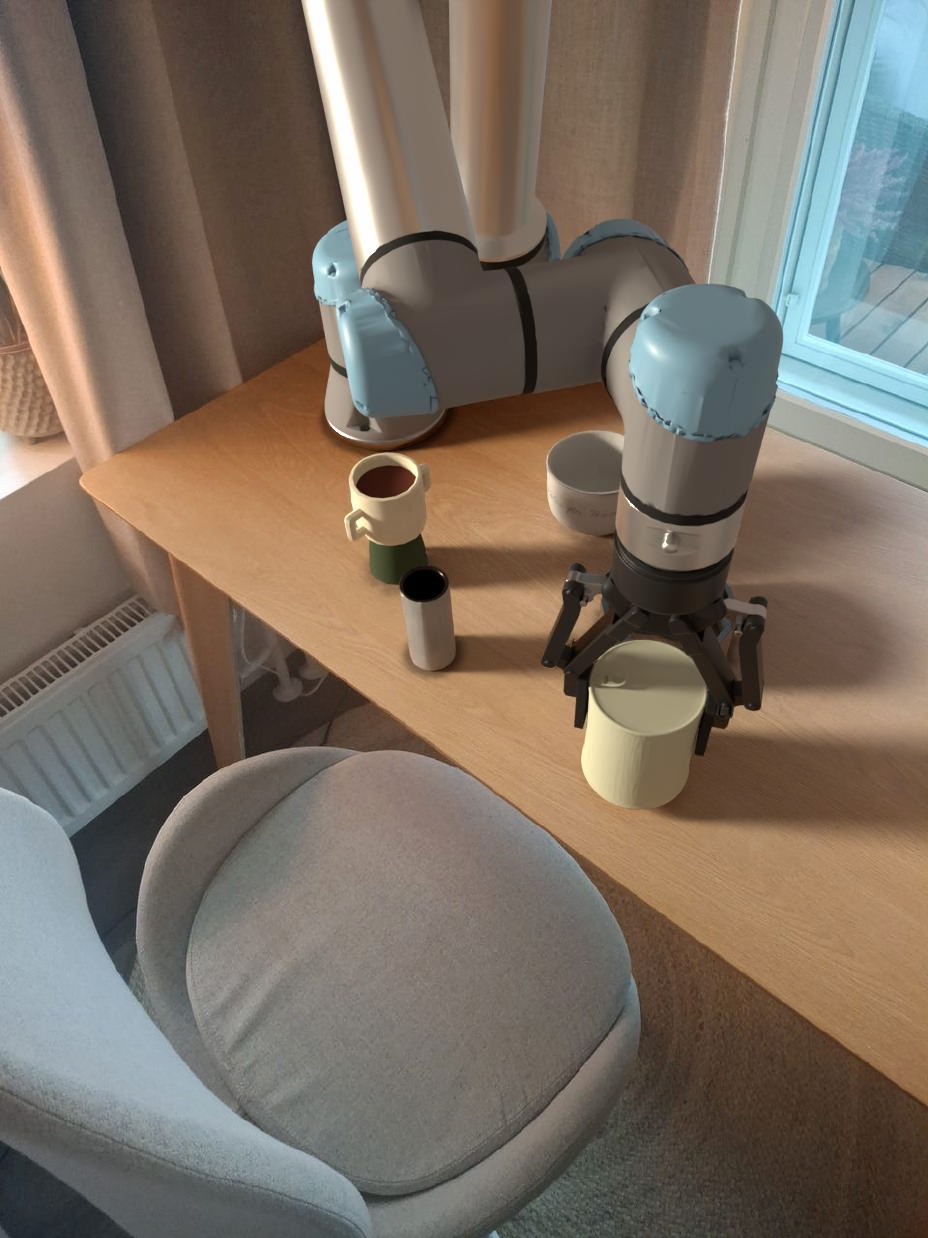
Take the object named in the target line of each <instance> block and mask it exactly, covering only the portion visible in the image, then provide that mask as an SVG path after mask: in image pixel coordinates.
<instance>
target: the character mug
mask: <svg viewBox="0 0 928 1238" xmlns="http://www.w3.org/2000/svg"><path fill="white" fill-rule="evenodd" d="M348 484H349V490H350V503H351V506H352V510H351V511H350V512H349V513H347V515H345V516H344V526H345V531H346V535H347V538H348V540H349V541H350V542H357V541H359V539H361V538H362V537H364V536H365V538H367V539H368V553H369V554H368V555H369V570H370V574H371V575H372V576H373V577H374V578H375V579H376V580H377V581H380V582H382V583H384V584H387V585H392V586H399V582H400V579H401V577H402V576H403V575H404V574H405V573H406V572H407V571H408V570H410V569H412V568H414V567H417V566H422V565H429V558H428V557H429V556H428V551H427V548H426V544H425V540H424V539H423V536H422V532H423V531H424V529H425V526H426V522H427V517H428V513H427V506H426V505H427V504H426V497H425V493H427V492H428V491H429V490H431V488H432V478H431V470H430V467H429V464H428V463H420V464H419V463H417V462H416V460H414V458H412V457H410V456H408V455H405V454H402V453H399V452H397V453H396V452H387V451H386V452H382V453H374V454H371V455H369V456H366V457H363V458H362V459H361V460H359V461H358V462H356V464H355V465H354V466H353V467H352V468H351V471H350V474H349V476H348ZM356 526H357V527H356Z"/></svg>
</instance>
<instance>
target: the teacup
mask: <svg viewBox="0 0 928 1238" xmlns="http://www.w3.org/2000/svg"><path fill="white" fill-rule="evenodd" d="M623 446H624V434H623V433H619V432H615V431H611V430H604V429H603V430H602V429H601V430H600V429H598V430H592V429H591V430H585V431H579V432H575V433H571V434H570V435H566V436H565V437H563V438H562V439H559V441H558V442H556V443H555V444H554V445H553V446H552V447H551V448H550V450H549V451H548V452H547V456H546V462H545V466H546V472H547V473H546V490H547V491H546V492H547V503H548V506H549V508H550V511H551V513H552V515H553V516H554V518H555V519H556V520H557V521H558V523H560V524H561V525H563V526H564V527H566V528H567V529H569V530H571V531H573V532H575V533H579V534H581V535H584V536H592V537H600V536H607V535H610V534H615V530H616V523H615V522H616V513H617V504H618V496H619V487H620V474H621V468H622V458H623Z"/></svg>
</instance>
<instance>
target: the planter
mask: <svg viewBox="0 0 928 1238" xmlns="http://www.w3.org/2000/svg"><path fill="white" fill-rule="evenodd" d="M450 584H451V583H450V578H449V576H448V574H447V573H446V572H445V571H444V570H443V569H441V568H440V567H437V566H434V565H430V564H428V565H422V566H417V567H414V568H412V569H410V570H408V571H407V572H406V573H405V574H404V575H403V576H402V577H401V579H400V582H399V585H398V588H399V589H398V590H399V595H400V602H401V608H402V612H403V613H402V615H403V620H404V626H405V633H406V638H407V644H408V651H409V656H410V659H411V661H412V663H413V664H414V665H415V666H416V667H418V668H420V669H421V670H424V671H440V670H442V669H444V668H447V667H448V666H449V665H450V664H452V662H453V661H454V659H455V657H456V653H457V646H456V635H455V626H454V615H453V604H452V595H451V585H450Z"/></svg>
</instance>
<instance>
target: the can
mask: <svg viewBox="0 0 928 1238" xmlns="http://www.w3.org/2000/svg"><path fill="white" fill-rule="evenodd" d="M682 650H683V649H682ZM682 650H681V649H680V648H678V647H676V646H674V645H671V644H670V643H669V644H668V643H666V642H662V641H659V640H658V641H657V640H652V639H634V641H628V642H624V643H621V644H618V645H616V646H614V647H612V648H610V649H609V650H607V651H606V652H605V653H604V654H603V655H602V656H601V657H599V658H598V659H597V660H596V661H595V662H594V664H593V667H592V670H591V673H590V676H589V684H588V686H589V699H588V712H587V716H586V725H585V726H586V727H585V735H584V736H585V737H584V742H583V743H584V744H583V746H582V749H581V757H580V763H581V769H582V772H583V775H584V777H585V779H586V781H587V783H588V784H589V786H590V787H591V789H592V790H593V791H594V792H595V793H596V794H597V795H598V796H599V797H601V798H602V799H603V800H604V801H607V802H608V803H610V804H612V805H615V806H616V807H619V808H622V809H627V810H635V811H645V810H652V809H656V808H659V807H663V806H664V805H666V804H668V803H669V802H671V801H673V800H674V799H675V798H676V797H677V796H678V795H679V794H680V793H681V792H682V790H683V789H684V787H685V786H686V784H687V781H688V778H689V773H690V762H691V758H692V754H693V751H694V748H695V744H696V740H697V735H698V729H699V725H700V721H701V718H702V714H703V712H704V710H705V707H706V704H707V700H708V690H709V689H708V687H707V685H706V683H705V682H704V680H703V678H702V676H701V674H700V672H699V670H698V668H697V667H696V665H695V663H694V661H693V659H692V658H691V657H690V656H687V655H686V654H685V652H683V651H682Z"/></svg>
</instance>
